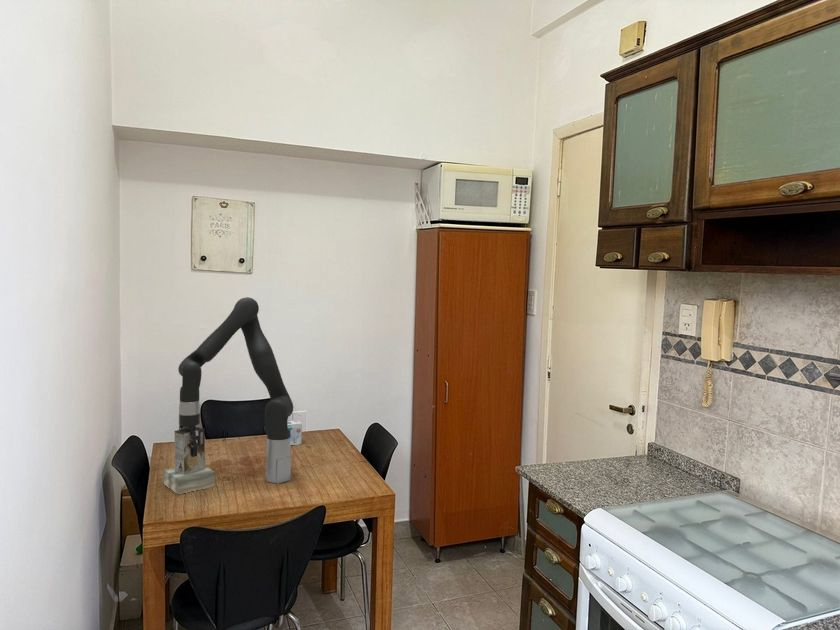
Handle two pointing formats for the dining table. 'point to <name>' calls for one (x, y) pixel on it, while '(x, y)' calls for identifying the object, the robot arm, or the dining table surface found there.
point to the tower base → (190, 487)
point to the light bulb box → (295, 432)
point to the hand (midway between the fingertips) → (189, 453)
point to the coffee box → (188, 452)
